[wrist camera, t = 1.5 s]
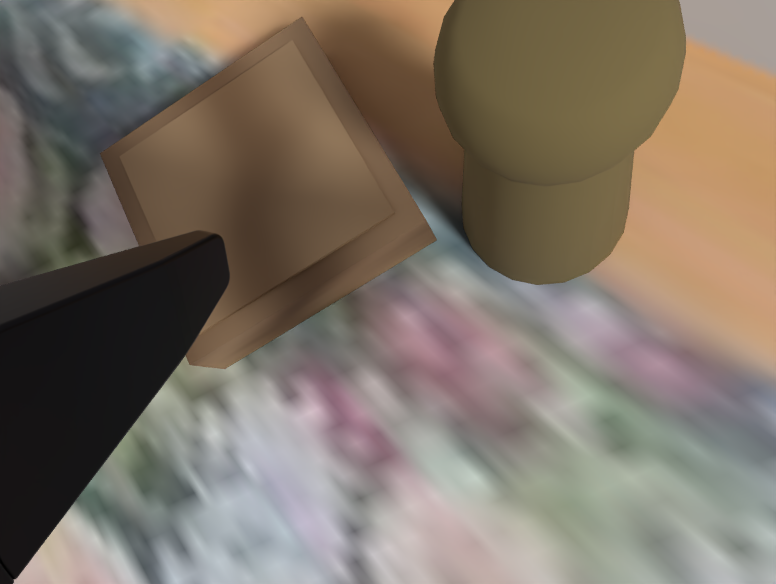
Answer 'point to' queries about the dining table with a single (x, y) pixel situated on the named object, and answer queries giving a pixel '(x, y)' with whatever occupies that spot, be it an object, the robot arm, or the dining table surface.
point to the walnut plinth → (270, 191)
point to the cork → (553, 122)
